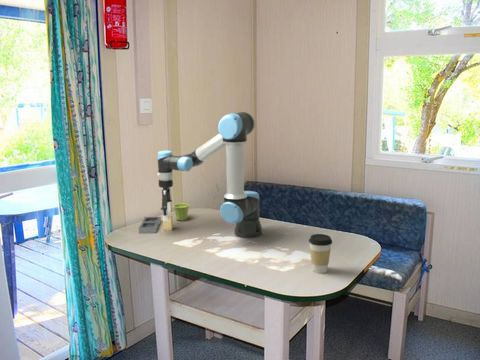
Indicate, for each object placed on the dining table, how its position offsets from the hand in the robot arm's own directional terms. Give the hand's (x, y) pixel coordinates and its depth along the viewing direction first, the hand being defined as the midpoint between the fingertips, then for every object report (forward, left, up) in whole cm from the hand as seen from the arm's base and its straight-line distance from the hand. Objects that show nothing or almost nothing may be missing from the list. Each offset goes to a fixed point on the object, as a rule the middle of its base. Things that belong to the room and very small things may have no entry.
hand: (166, 217), depth 251 cm
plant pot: (-6, -18, -7) cm, 20 cm away
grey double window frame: (+10, -4, -7) cm, 13 cm away
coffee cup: (-72, +60, -7) cm, 94 cm away
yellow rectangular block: (0, 0, -7) cm, 7 cm away
